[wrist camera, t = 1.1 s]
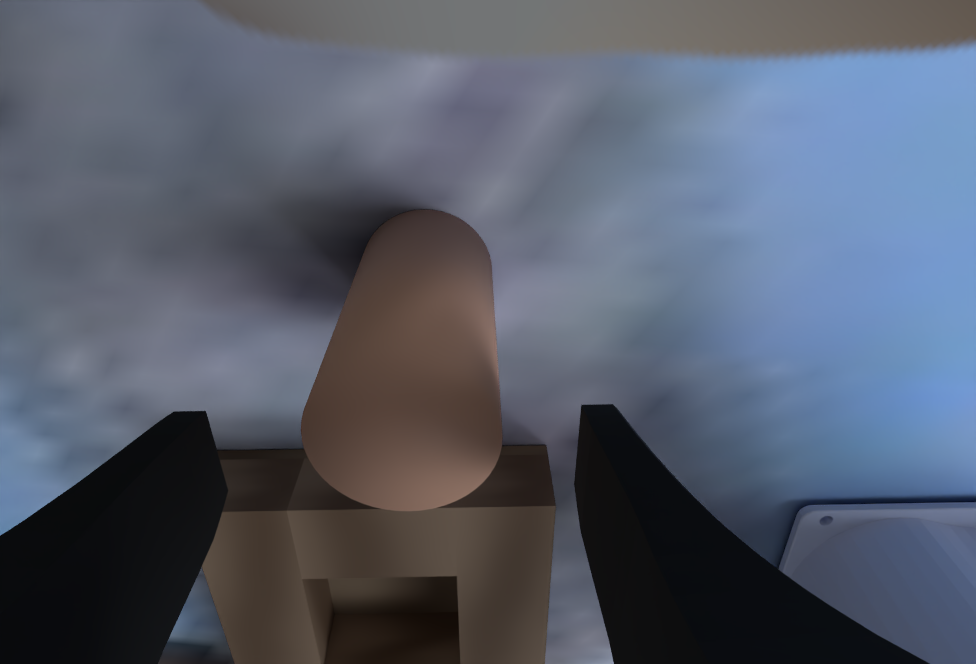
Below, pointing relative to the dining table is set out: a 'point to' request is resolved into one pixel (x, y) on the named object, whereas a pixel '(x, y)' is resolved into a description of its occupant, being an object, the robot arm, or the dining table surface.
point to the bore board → (381, 567)
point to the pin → (411, 371)
